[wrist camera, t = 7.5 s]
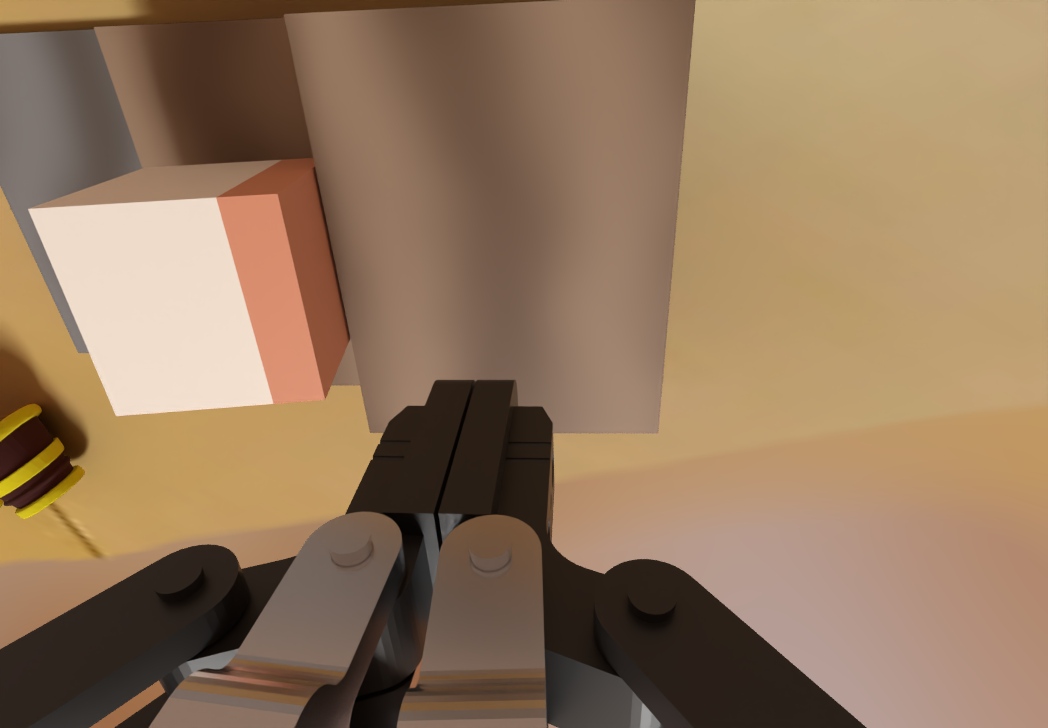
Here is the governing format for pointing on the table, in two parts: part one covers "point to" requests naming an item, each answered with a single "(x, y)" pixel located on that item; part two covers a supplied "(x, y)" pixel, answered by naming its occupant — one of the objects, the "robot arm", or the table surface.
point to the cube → (202, 284)
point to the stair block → (412, 176)
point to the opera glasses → (32, 463)
